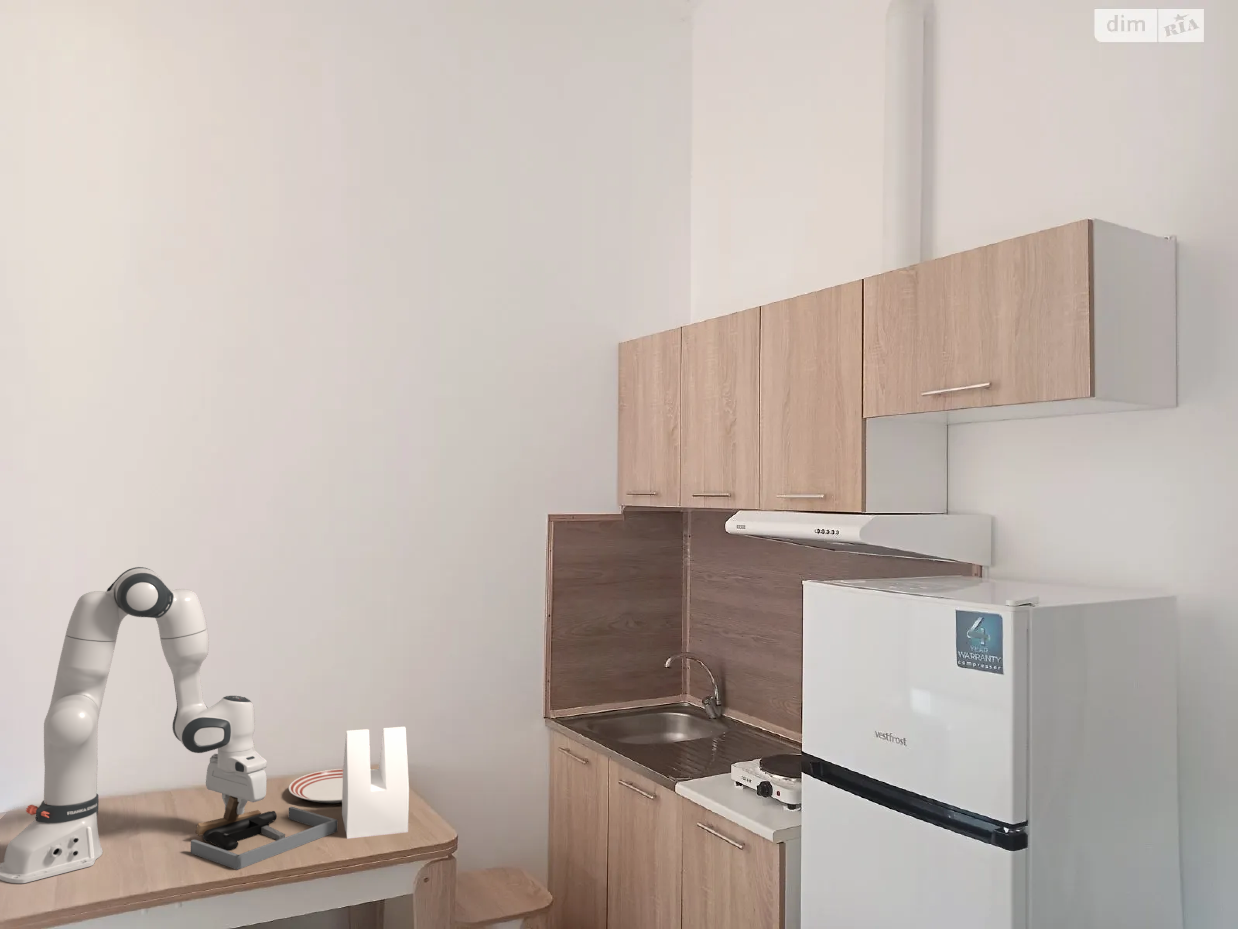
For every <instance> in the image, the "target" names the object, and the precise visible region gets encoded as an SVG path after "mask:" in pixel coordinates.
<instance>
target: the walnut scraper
mask: <svg viewBox="0 0 1238 929" xmlns="http://www.w3.org/2000/svg"><path fill="white" fill-rule="evenodd" d="M238 804H239V802H238V798H236V797H233V796H230V797H229V800H228V804H227V807H226V810H225V809H224V814H223V817H221V818H217V819H213V820H207V821H203V822H200V823H199V822H198V823H197V826H196V828H195V831H194V832H195V834H196V835H197V836H203V834H204V832H205V831H207V830H209V829H212V828H216V827H219V826H222V825H226V824H229V823H232V822H236V821H239V820H242V819H245V818H249V817H252V816H255V815H259V814H262V812H261V811H260V810H258V809H257V810H252V811H247V812H244V813H243V814H241V815H238V814H235V807H238Z"/></svg>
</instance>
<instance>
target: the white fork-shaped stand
mask: <svg viewBox="0 0 1238 929" xmlns="http://www.w3.org/2000/svg"><path fill="white" fill-rule="evenodd" d="M345 731H346V732H345V743H344V752H343V753H344V754H343V755H344V756H343V766H342V767H343V768H342V769H343V789H342V803H341V816H342V820H343V821H342V822H343V826H344V831H345V834H346V839H347V840H348V839H355V838H366V837H375V836H384V835H394V834H402V833H409V812H410V810H409V806H410V805H409V803H410V802H409V801H410V784H409V781H410V780H409V764H408V763H409V762H408V746H407V745H408V744H407V728H406V726H395V727H383V729H382V735H381V745H380V752H379V753H380V754H379V762H378V768H376V769H371V747H370V746H371V744H370V742H371V741H370V729H369V728H366V729H365V728H364V729H363V728H362V729H351V730H350V729H349V730H345Z"/></svg>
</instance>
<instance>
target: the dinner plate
mask: <svg viewBox="0 0 1238 929" xmlns="http://www.w3.org/2000/svg"><path fill="white" fill-rule="evenodd" d="M342 789H343V768H335V769H334V768H333V769H326V770H321V771H320V770H319V771H315V772H311V773H308V774H305V775H302V776H300V777H297V778H296V779H294V780H293V781H292V782H290V784H289V785H288V791H289V793H290V794H291V795H293V796H294V797H297V798H299V799H302V800H305V801H309V802H314V803H319V804H340V803H341V804H342Z"/></svg>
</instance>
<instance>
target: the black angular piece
mask: <svg viewBox="0 0 1238 929" xmlns="http://www.w3.org/2000/svg"><path fill="white" fill-rule="evenodd" d="M277 817H278V816H277V813H276V811H275V810H271V811H266V812H263V813H262V812H261V814H259V815H255V816H252V817H249V818H245V819H242V820H239V821H236V822H232V823H229V824H226V825H222V826H219V827H216V828H212V829H209V830H207V831H205V832H204V834H203V835H202V839H203V841H204V842H206V843H210V844H213V846H214V845H215V847H218V848H221V849H224V850H227V851H229V852H231V851H233V850H235V849H237V848H238V846H239V842H240V841H242V840H247V839H249V838H253V837H255V836H258V835H263V836H265V837H268V838H271V839H272V840H274V841H277V840H280V839H282V838H285V837H286V833H284V832H282V831H279V830H277V829H276V828H274V827H271V826H270V824H272V823H274V821H276V820H277Z"/></svg>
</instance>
